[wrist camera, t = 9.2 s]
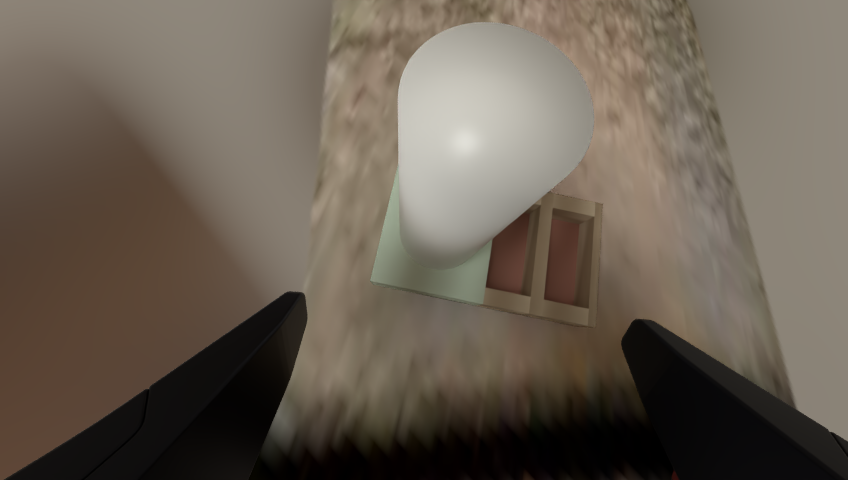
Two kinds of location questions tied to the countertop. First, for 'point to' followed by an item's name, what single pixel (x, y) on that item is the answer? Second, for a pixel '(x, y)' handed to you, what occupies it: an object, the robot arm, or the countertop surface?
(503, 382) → the countertop surface
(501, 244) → the board
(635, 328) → the robot arm
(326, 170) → the countertop surface
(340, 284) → the countertop surface
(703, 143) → the countertop surface
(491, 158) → the white cylinder
